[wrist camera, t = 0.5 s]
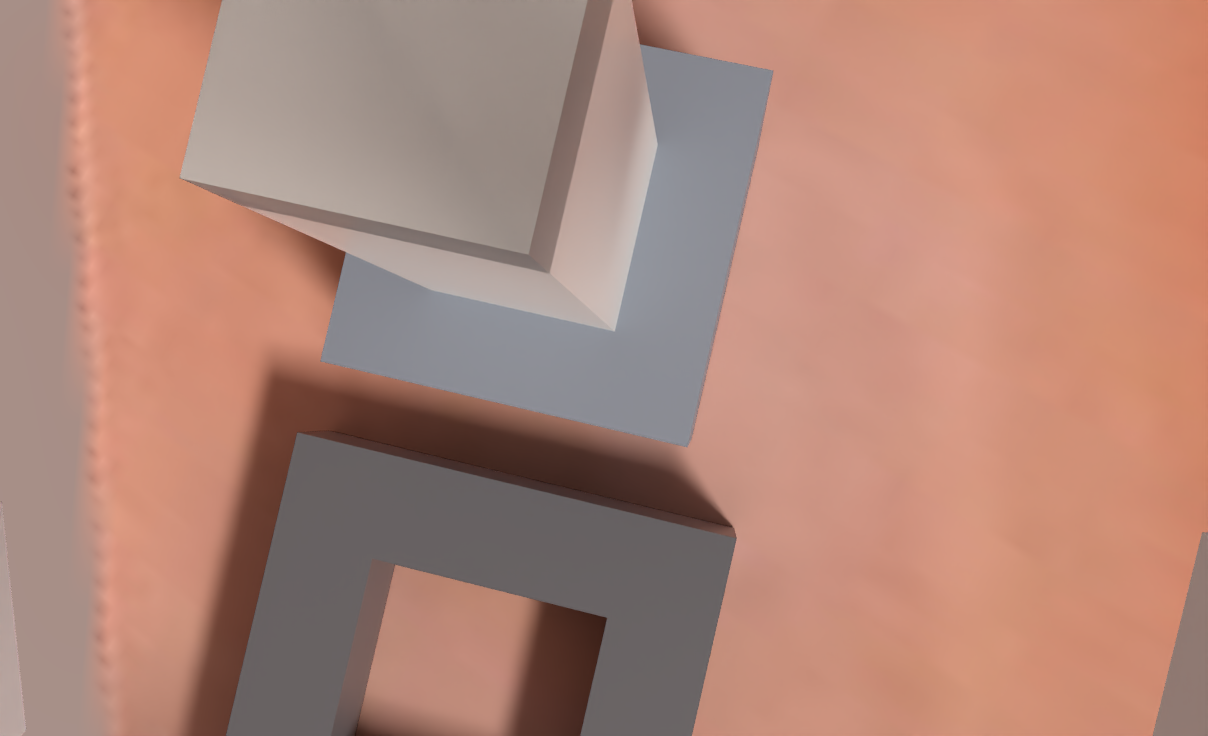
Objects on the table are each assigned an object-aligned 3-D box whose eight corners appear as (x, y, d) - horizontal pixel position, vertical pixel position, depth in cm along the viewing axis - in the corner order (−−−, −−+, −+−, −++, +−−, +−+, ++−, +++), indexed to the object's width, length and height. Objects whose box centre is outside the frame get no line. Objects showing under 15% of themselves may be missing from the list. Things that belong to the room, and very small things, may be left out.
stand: (469, 86, 37) (405, -2, 30) (758, 145, 36) (773, 70, 29) (402, 372, 37) (320, 361, 29) (691, 439, 36) (687, 447, 28)
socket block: (329, 430, 37) (297, 432, 34) (734, 527, 36) (736, 538, 33) (235, 835, 37) (193, 871, 34) (638, 948, 36) (632, 997, 33)
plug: (474, 106, 29) (263, -172, 15) (657, 144, 29) (612, -107, 15) (431, 290, 29) (179, 178, 15) (614, 331, 29) (529, 254, 15)
